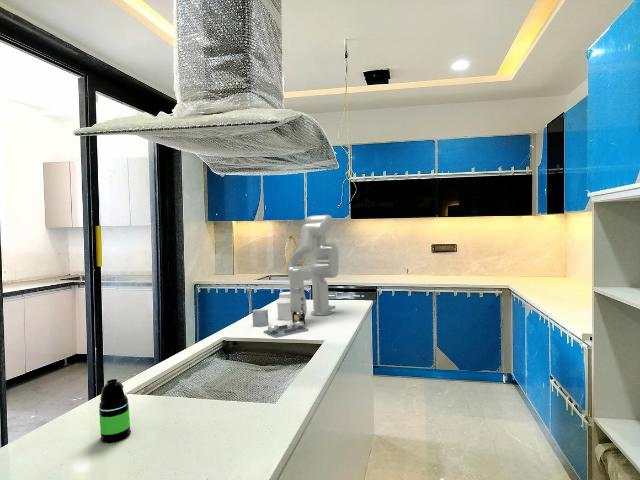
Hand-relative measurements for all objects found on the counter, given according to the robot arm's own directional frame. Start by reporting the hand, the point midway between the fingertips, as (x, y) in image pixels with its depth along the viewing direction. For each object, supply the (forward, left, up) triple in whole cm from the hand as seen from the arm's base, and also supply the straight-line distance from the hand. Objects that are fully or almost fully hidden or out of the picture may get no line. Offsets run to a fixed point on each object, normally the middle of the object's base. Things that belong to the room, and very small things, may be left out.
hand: (298, 323), depth 227 cm
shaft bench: (+12, +7, -1) cm, 14 cm away
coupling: (0, 0, -1) cm, 1 cm away
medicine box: (+15, -16, -1) cm, 22 cm away
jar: (-5, -21, -1) cm, 22 cm away
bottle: (+101, +72, -1) cm, 124 cm away
